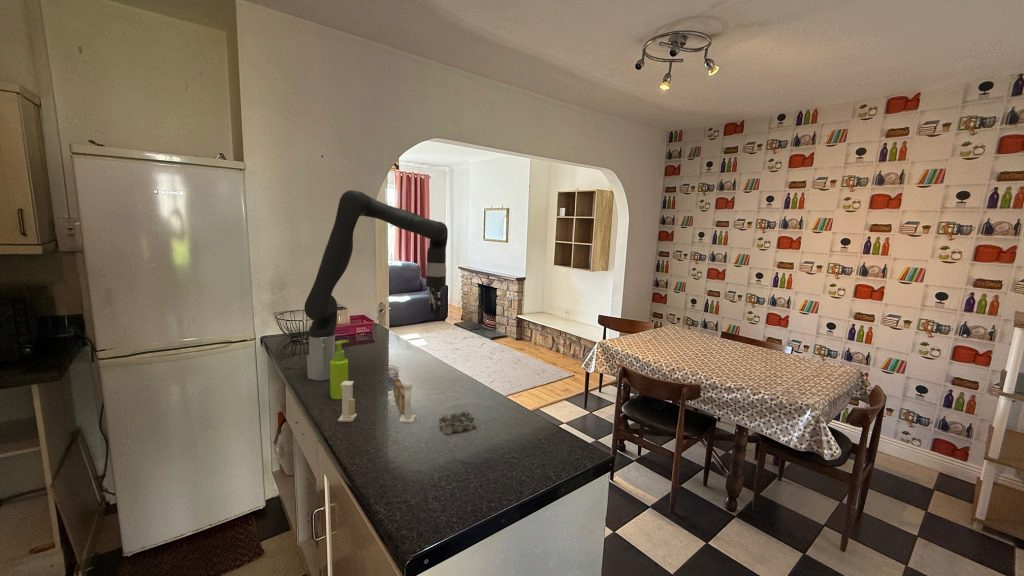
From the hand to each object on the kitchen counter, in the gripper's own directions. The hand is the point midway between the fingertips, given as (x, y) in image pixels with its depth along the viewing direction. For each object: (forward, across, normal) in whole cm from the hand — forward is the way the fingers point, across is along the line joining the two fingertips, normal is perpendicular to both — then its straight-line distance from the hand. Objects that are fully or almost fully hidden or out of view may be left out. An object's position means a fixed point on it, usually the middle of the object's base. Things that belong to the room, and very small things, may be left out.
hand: (434, 315), depth 156 cm
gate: (+26, +19, -14) cm, 35 cm away
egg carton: (+28, +37, +1) cm, 46 cm away
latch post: (+27, +22, -31) cm, 47 cm away
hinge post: (+27, +28, -13) cm, 41 cm away
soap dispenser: (+28, +4, -34) cm, 44 cm away
